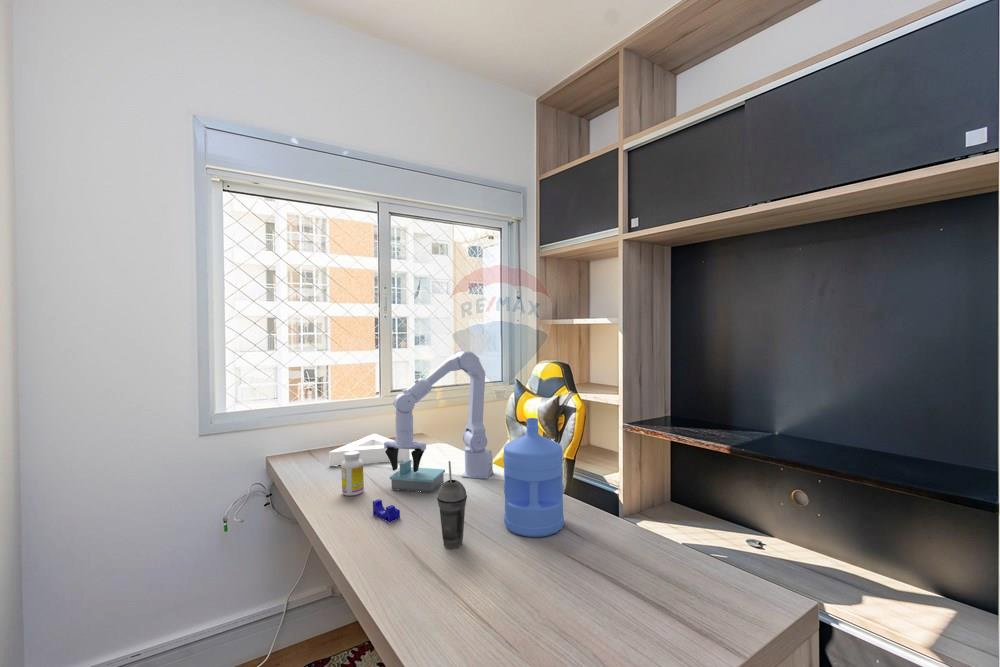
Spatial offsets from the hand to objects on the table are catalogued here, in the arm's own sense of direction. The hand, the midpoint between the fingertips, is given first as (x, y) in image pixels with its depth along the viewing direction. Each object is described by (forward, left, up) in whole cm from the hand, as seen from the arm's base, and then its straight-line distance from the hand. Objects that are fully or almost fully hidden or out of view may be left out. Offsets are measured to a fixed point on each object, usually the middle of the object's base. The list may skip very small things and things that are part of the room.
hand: (405, 470), depth 152 cm
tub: (-4, 0, -5) cm, 7 cm away
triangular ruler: (+30, -30, -6) cm, 43 cm away
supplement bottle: (+14, +10, -5) cm, 18 cm away
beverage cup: (-30, +35, -5) cm, 47 cm away
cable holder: (-6, +24, -5) cm, 25 cm away
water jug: (-48, +20, -5) cm, 52 cm away
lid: (-4, 0, -1) cm, 5 cm away
